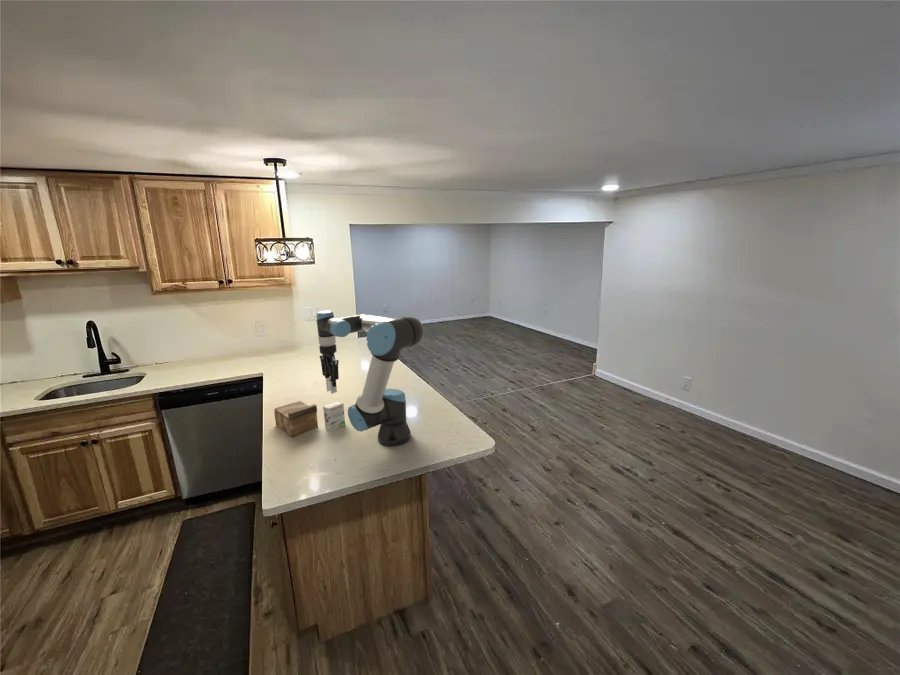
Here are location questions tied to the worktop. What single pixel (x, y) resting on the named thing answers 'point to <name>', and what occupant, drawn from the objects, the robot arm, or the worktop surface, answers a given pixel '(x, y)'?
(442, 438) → the worktop surface
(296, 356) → the worktop surface
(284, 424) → the crate
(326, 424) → the ink box
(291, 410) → the lid
